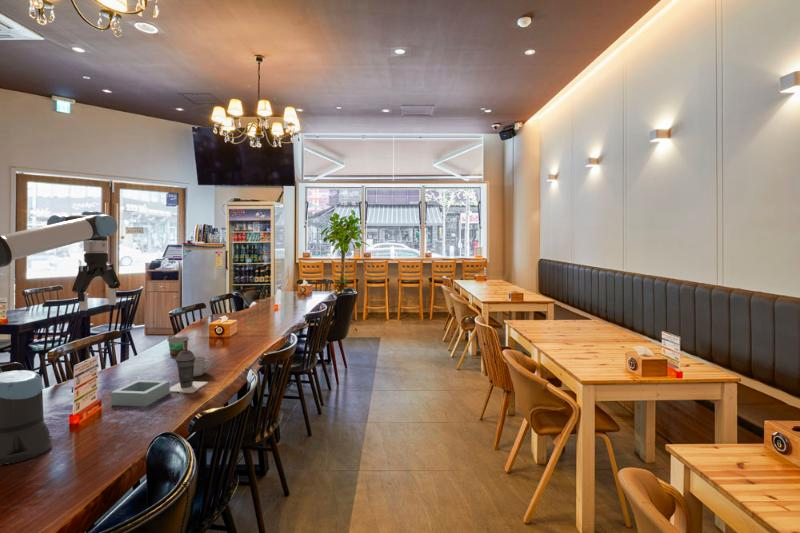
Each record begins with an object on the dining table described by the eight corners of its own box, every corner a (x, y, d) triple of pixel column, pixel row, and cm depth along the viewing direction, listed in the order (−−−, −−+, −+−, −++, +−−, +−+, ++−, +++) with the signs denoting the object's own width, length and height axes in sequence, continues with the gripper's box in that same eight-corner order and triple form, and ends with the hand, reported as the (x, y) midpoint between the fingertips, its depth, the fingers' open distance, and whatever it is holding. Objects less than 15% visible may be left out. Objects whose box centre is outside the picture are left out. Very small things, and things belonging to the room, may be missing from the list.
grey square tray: (145, 406, 159) (145, 393, 158) (111, 405, 160) (110, 392, 160) (169, 393, 173) (169, 381, 172) (137, 392, 174) (137, 380, 174)
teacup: (177, 376, 194) (176, 359, 194) (198, 370, 204) (197, 353, 203) (197, 381, 188) (196, 363, 187) (217, 374, 197) (217, 357, 197)
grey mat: (192, 393, 173) (191, 391, 173) (164, 392, 174) (164, 390, 174) (208, 383, 185) (208, 381, 185) (182, 382, 186) (182, 380, 186)
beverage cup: (188, 389, 175) (186, 342, 173) (172, 388, 176) (171, 341, 175) (199, 384, 182) (198, 338, 181) (185, 382, 183) (183, 337, 182)
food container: (162, 355, 229) (161, 337, 229) (171, 352, 235) (170, 334, 235) (180, 357, 226) (179, 338, 225) (189, 354, 232) (188, 336, 231)
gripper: (77, 253, 148) (79, 313, 150) (129, 251, 173) (131, 302, 174) (57, 253, 149) (60, 312, 150) (112, 251, 174) (114, 302, 175)
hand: (98, 307), depth 162 cm, fingers open, 13 cm apart
